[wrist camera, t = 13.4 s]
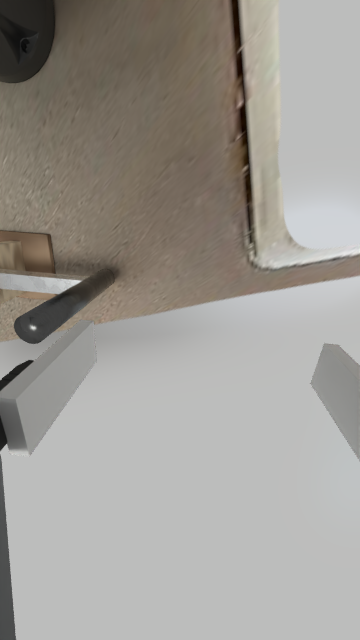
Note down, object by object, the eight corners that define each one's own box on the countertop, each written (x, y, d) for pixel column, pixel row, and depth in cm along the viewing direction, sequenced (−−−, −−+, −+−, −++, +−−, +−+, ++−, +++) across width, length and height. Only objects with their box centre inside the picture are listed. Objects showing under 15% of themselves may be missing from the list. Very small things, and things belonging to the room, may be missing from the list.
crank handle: (12, 260, 43) (-140, 299, 24) (114, 269, 42) (42, 316, 23) (15, 277, 44) (-127, 327, 25) (115, 286, 44) (47, 345, 24)
